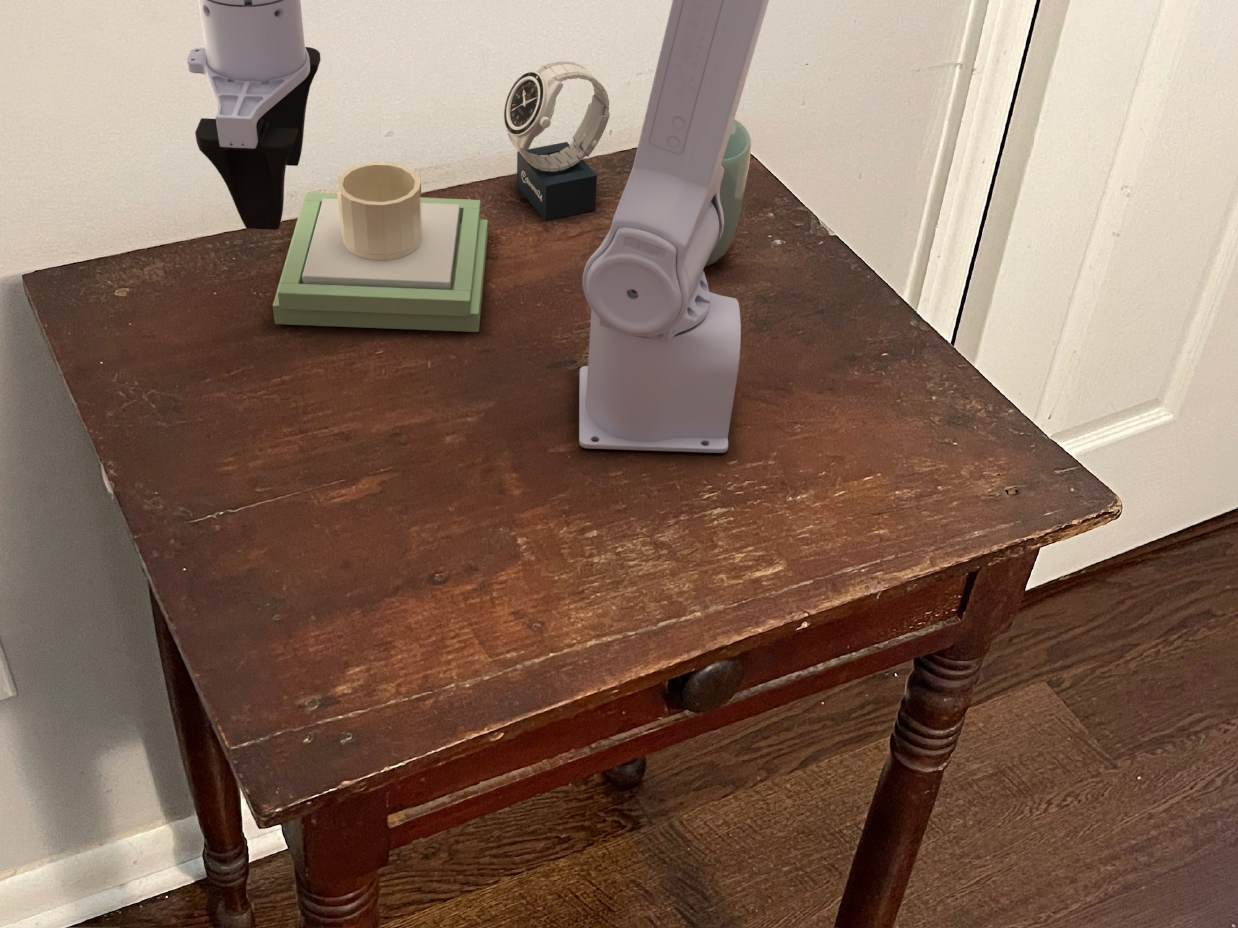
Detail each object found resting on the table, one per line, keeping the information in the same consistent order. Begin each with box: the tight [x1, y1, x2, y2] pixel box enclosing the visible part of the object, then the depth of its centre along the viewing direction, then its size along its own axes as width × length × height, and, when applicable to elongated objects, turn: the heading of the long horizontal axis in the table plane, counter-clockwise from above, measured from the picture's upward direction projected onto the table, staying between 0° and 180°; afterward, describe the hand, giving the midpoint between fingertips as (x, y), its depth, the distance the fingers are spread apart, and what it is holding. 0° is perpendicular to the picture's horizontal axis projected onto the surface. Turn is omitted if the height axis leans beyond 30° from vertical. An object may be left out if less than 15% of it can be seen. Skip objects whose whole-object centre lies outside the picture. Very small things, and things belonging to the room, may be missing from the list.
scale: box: [272, 191, 489, 333], centre depth 97 cm, size 14×13×3 cm
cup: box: [705, 118, 752, 267], centre depth 100 cm, size 8×8×10 cm
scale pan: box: [302, 199, 460, 290], centre depth 96 cm, size 10×10×2 cm
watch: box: [503, 60, 611, 222], centre depth 104 cm, size 6×8×11 cm
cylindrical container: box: [336, 161, 423, 260], centre depth 94 cm, size 6×6×4 cm
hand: (273, 193), depth 86 cm, fingers open, 7 cm apart
